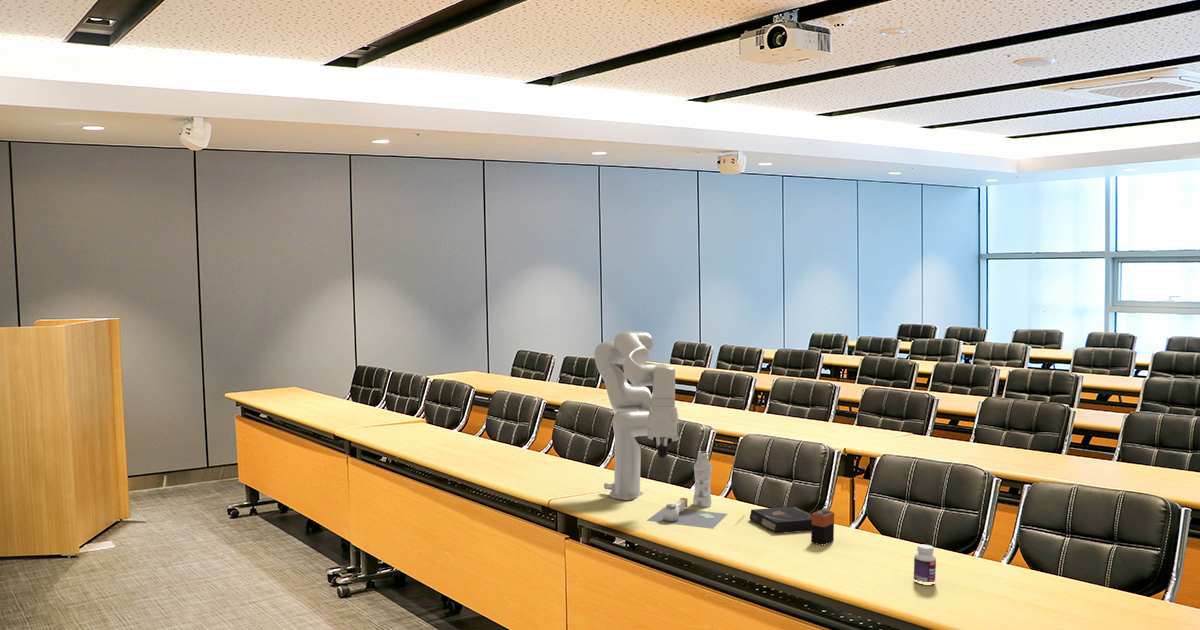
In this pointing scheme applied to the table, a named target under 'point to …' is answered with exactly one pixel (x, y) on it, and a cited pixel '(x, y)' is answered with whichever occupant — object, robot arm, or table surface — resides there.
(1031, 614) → the table surface
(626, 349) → the robot arm
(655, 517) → the dial board
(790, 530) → the flat black box
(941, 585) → the table surface
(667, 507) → the white bar with knob
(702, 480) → the plastic bottle
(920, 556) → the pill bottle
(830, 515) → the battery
